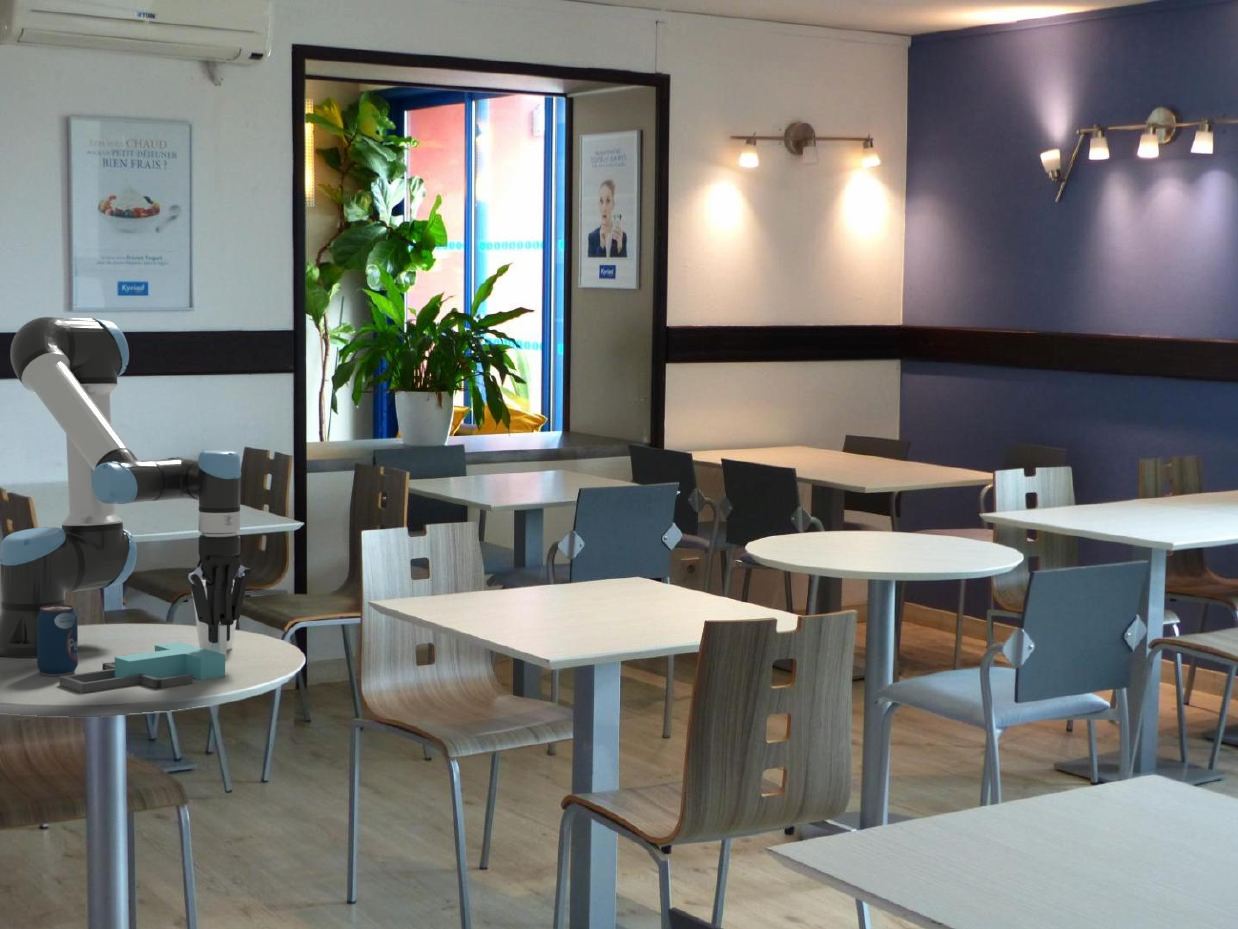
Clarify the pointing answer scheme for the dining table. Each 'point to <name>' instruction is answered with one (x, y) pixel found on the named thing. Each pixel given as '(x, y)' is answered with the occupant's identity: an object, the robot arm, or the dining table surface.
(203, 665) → the t block
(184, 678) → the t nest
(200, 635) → the foam cup
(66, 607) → the soda can
